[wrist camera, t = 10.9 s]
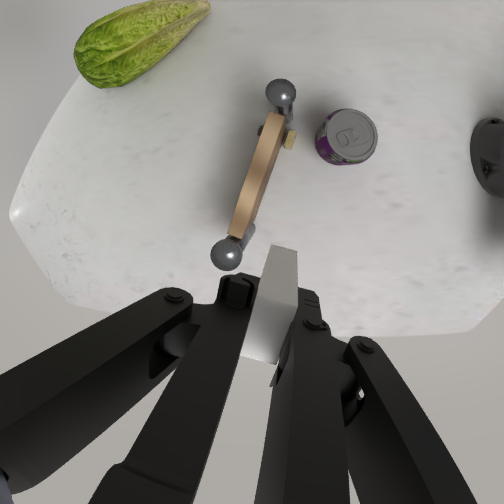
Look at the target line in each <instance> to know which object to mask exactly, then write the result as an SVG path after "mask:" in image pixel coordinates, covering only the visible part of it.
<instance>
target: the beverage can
mask: <svg viewBox="0 0 504 504" xmlns="http://www.w3.org/2000/svg"><path fill="white" fill-rule="evenodd" d="M377 141H378V134H377V129H376V127H375V125H374V123H373V121H372V120H371V119H370V118H369V117H368V116H367V115H366V114H364V113H362V112H360V111H357V110H353V109H340V110H337V111H335V112H333V113H332V114H330V115H329V116H328V117H327V118H326V120H325V121H324V123H323V124H322V126H321V127H320V128H319V130H318V132H317V134H316V138H315V145H316V149H317V151H318V153H319V155H320V156H321V157H322V158H323V159H324V160H325V161H327V162H328V163H330V164H333V165H353V164H359V163H362V162H364V161H366V160H367V159H368V158H369V157H370V156H371V155H372V154H373V152H374V150H375V148H376V145H377Z"/></svg>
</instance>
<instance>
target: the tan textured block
mask: <svg viewBox="0 0 504 504" xmlns="http://www.w3.org/2000/svg"><path fill="white" fill-rule="evenodd" d="M295 138H296V132H294V131H291V130H289V132H288V135H287V138H286V141H285V144H284V147H285V148H286V149H289V150H291V149H292V146H293V143H294V140H295Z"/></svg>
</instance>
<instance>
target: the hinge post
mask: <svg viewBox="0 0 504 504" xmlns="http://www.w3.org/2000/svg"><path fill="white" fill-rule="evenodd" d="M254 232H255V225H254V223H252V224H251V225H250V227H249V228H248V229H247V231H246V232H245V234H244V235H243V238H242V239H240V238H237V237H235V236H232V235H228V236H227V237H226V238H225V239H223V240H220V241H218V242H217V243H216V244H215V245H214V246H213V247H212V250H211V254H210V255H211V260H212V262H213V264H214V265H215V266H216V267H217V268H218V269H220V270H223V271H231V270H234V269H235V268H237V267H238V266H239V264H240V262H241V260H242V256H243V254H242V252H243V251H244V249H245V247H246V246H247V244H248V242H249V241H250V239H251V237H252V236H253V234H254Z"/></svg>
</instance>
